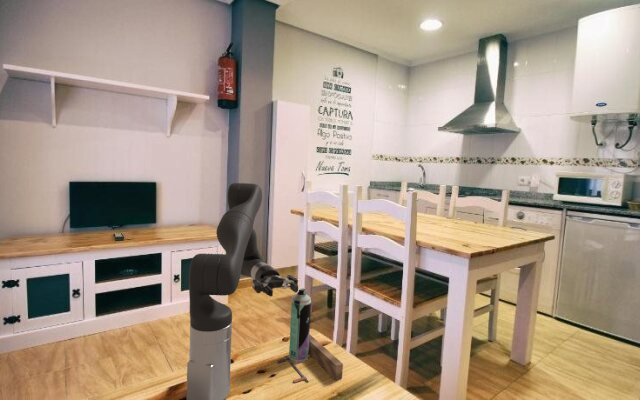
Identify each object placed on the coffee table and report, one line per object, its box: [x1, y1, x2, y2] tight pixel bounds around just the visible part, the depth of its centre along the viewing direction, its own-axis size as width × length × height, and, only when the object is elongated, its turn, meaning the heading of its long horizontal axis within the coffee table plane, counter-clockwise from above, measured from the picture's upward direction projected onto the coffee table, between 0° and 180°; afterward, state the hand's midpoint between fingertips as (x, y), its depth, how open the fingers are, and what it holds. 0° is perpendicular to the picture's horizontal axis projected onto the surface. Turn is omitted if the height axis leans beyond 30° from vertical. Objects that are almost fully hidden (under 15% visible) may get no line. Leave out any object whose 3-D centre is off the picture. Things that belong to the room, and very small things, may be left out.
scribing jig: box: [276, 333, 344, 384], centre depth 95 cm, size 18×12×4 cm, turn 31°
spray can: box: [288, 288, 312, 363], centre depth 99 cm, size 6×6×20 cm
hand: (284, 291), depth 108 cm, fingers open, 8 cm apart
